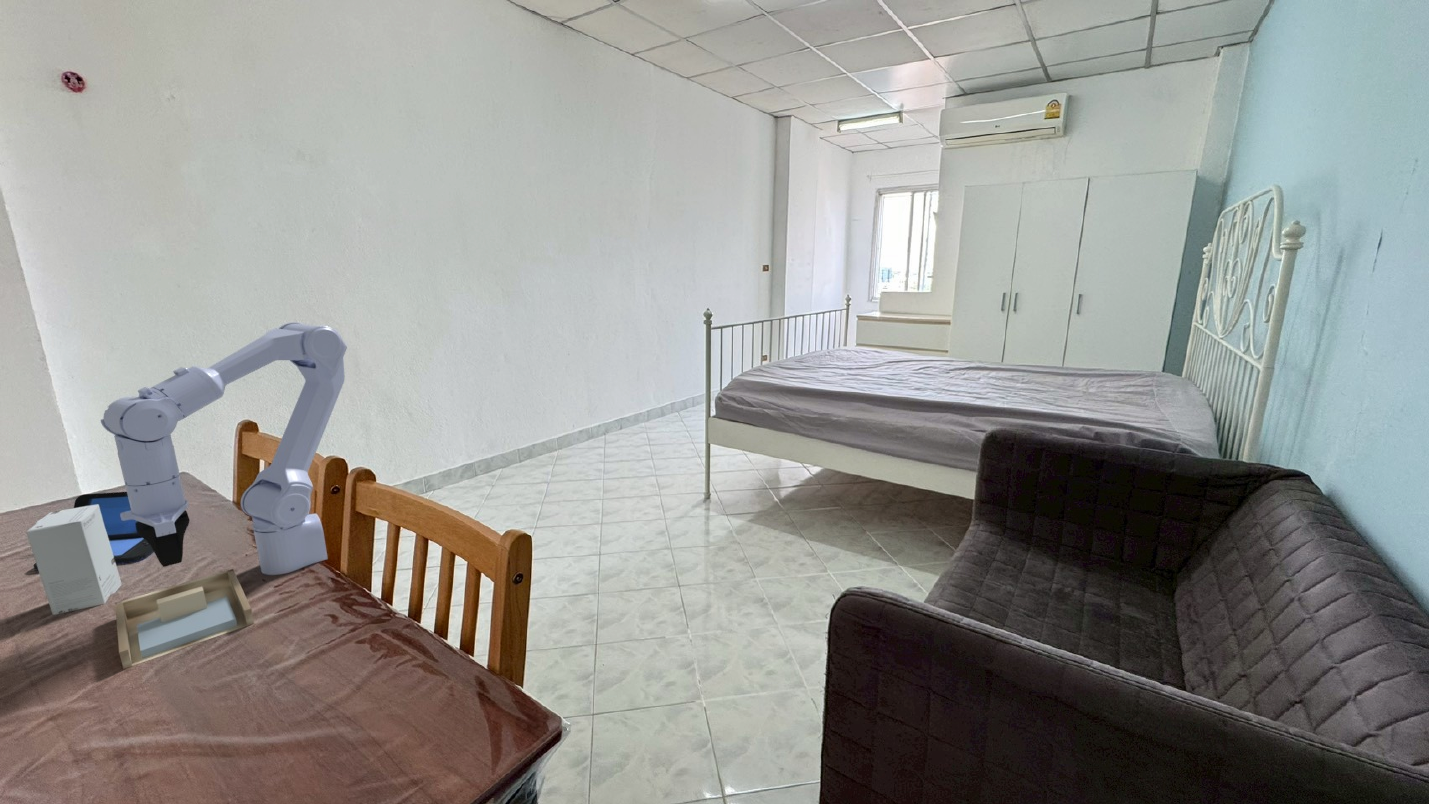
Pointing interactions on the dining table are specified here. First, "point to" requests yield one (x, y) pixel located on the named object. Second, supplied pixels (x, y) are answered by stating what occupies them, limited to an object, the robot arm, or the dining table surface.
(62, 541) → the skincare box
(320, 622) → the dining table surface
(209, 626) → the cover plate
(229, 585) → the birch box
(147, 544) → the handheld game console
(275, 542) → the robot arm
